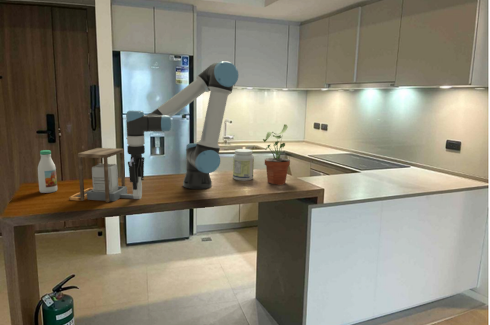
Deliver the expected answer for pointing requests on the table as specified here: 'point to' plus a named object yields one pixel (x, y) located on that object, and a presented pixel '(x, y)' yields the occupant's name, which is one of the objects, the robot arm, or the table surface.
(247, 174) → the supplement tub
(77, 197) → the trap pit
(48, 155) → the milk bottle
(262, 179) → the table surface
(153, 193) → the table surface
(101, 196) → the cradle
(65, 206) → the table surface
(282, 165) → the potted plant
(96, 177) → the supplement box
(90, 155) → the tunnel
